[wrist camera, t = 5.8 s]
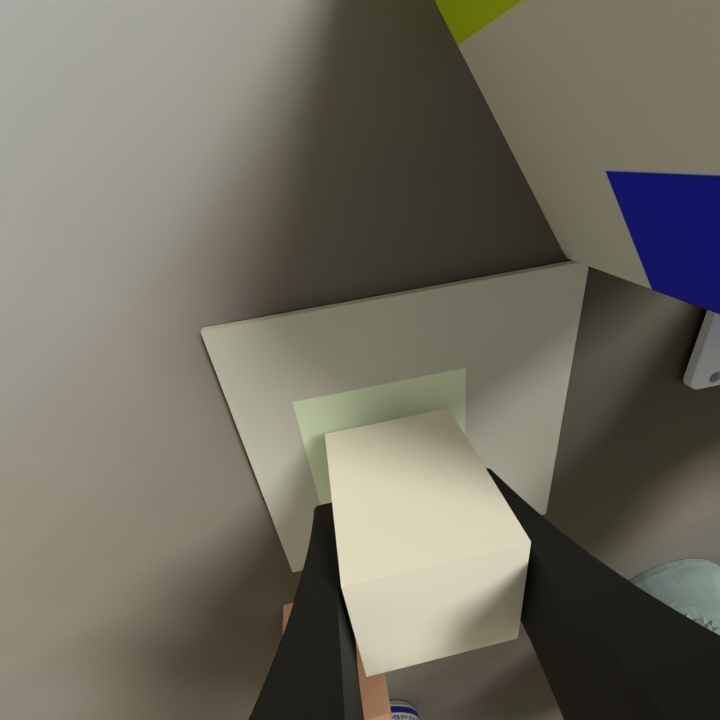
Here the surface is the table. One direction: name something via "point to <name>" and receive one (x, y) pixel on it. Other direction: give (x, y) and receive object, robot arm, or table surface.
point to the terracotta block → (364, 685)
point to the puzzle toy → (611, 127)
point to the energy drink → (402, 711)
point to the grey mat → (403, 380)
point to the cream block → (423, 542)
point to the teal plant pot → (686, 589)
